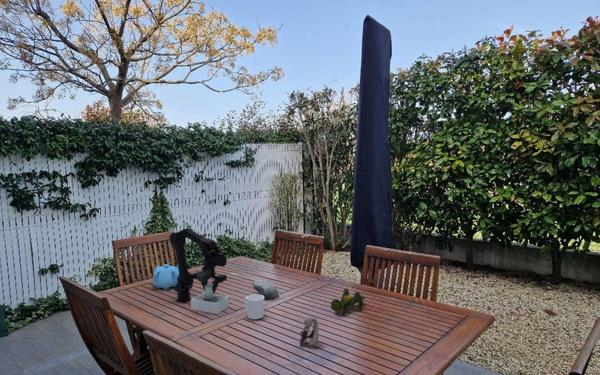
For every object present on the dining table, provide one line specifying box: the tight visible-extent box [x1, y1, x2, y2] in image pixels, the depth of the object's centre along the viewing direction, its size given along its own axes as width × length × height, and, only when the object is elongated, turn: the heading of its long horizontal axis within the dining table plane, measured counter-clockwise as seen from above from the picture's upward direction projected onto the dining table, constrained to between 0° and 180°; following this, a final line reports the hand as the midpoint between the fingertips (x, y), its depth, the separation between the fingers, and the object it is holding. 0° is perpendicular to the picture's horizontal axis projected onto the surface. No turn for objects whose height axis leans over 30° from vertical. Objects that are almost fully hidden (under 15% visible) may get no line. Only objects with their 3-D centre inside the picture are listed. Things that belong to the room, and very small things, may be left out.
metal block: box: [203, 296, 216, 303], centre depth 207 cm, size 5×5×5 cm
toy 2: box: [330, 288, 366, 316], centre depth 204 cm, size 10×24×10 cm, turn 136°
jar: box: [204, 283, 215, 296], centre depth 206 cm, size 5×5×5 cm
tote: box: [190, 292, 230, 315], centre depth 207 cm, size 17×11×6 cm, turn 67°
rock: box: [252, 279, 279, 300], centre depth 225 cm, size 11×17×10 cm, turn 50°
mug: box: [243, 293, 265, 321], centre depth 194 cm, size 11×9×10 cm
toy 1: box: [299, 314, 319, 348], centre depth 164 cm, size 8×8×14 cm
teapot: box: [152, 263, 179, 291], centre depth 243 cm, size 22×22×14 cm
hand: (209, 292), depth 206 cm, fingers closed on jar, 5 cm apart
